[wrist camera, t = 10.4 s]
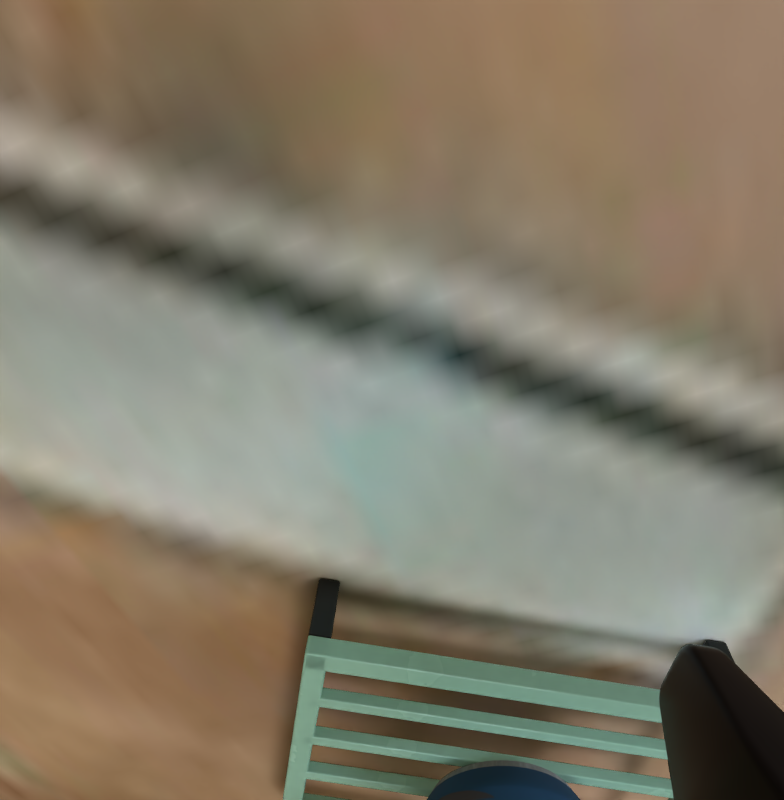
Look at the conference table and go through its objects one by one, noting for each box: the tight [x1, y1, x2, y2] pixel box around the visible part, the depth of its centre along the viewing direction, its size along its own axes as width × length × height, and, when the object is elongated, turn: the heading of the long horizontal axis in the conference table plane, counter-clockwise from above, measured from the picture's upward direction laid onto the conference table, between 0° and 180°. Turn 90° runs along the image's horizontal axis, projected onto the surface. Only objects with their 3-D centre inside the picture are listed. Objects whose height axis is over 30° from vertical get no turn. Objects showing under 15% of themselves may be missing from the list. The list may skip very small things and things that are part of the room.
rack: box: [283, 579, 734, 800], centre depth 28 cm, size 16×14×4 cm
